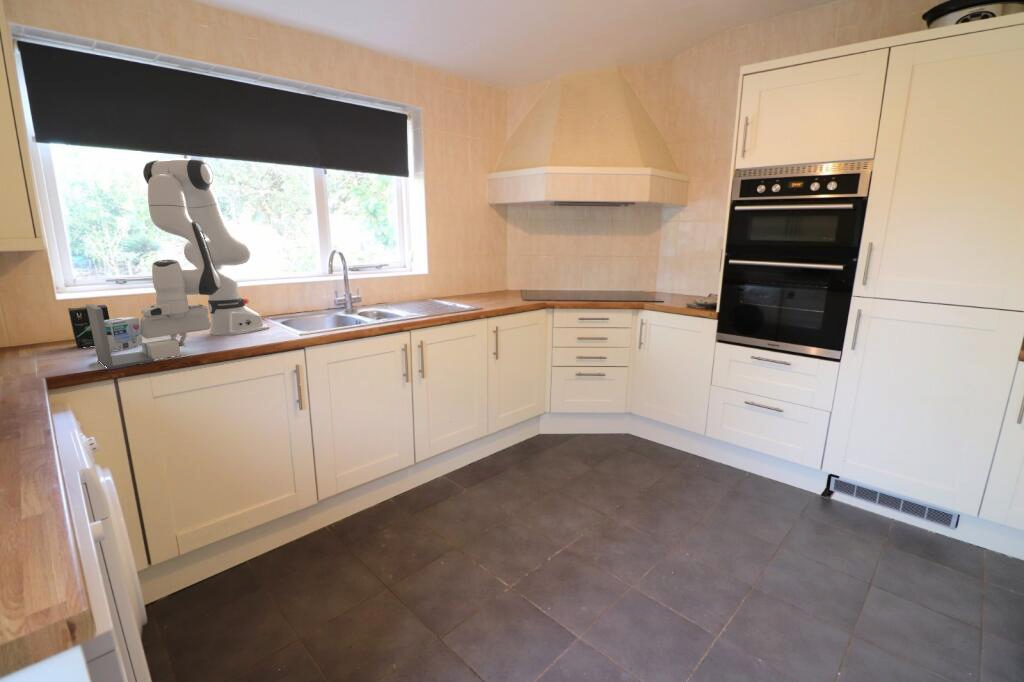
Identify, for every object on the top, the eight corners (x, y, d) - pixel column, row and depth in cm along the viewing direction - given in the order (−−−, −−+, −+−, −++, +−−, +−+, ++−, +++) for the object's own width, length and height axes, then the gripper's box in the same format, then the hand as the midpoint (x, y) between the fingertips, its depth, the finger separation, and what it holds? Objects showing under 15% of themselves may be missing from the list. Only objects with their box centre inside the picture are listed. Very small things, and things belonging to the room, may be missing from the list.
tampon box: (112, 340, 190) (105, 304, 187) (115, 344, 184) (107, 306, 180) (75, 345, 183) (67, 307, 179) (77, 349, 176) (68, 310, 173)
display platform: (142, 354, 168) (132, 300, 164) (154, 361, 158) (143, 304, 154) (98, 361, 159) (86, 304, 155) (107, 369, 149) (95, 309, 145)
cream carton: (170, 350, 173) (168, 336, 172) (180, 355, 165) (178, 341, 164) (143, 355, 167) (140, 341, 166) (152, 360, 159) (149, 346, 158)
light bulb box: (116, 351, 173) (110, 322, 170) (101, 350, 174) (95, 321, 172) (144, 344, 183) (139, 316, 180) (130, 344, 184) (124, 316, 182)
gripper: (203, 303, 176) (209, 339, 179) (135, 310, 161) (143, 350, 164) (210, 304, 172) (215, 342, 175) (140, 312, 157) (148, 353, 160)
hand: (180, 346), depth 169 cm, fingers closed
